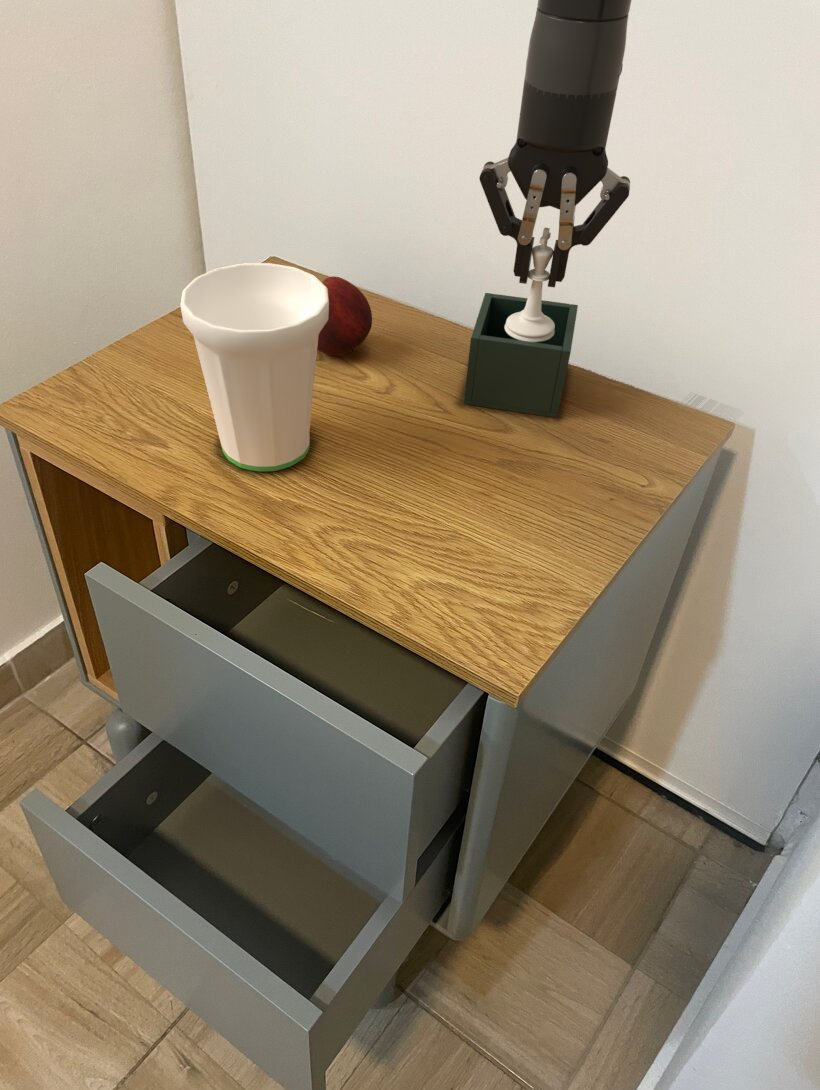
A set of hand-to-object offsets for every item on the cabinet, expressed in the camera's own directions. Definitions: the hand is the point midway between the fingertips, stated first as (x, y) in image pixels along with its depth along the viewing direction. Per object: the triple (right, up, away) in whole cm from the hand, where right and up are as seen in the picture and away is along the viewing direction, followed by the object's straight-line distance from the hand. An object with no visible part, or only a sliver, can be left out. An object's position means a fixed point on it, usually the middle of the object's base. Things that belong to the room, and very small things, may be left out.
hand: (538, 281), depth 83 cm
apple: (-20, -3, +14) cm, 24 cm away
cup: (-26, -16, +1) cm, 30 cm away
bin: (-1, -8, +10) cm, 12 cm away
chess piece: (0, -4, +4) cm, 5 cm away
